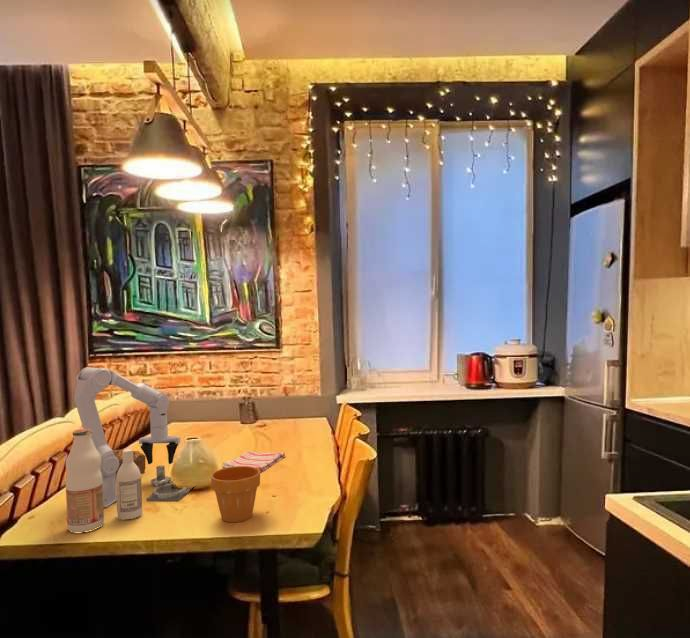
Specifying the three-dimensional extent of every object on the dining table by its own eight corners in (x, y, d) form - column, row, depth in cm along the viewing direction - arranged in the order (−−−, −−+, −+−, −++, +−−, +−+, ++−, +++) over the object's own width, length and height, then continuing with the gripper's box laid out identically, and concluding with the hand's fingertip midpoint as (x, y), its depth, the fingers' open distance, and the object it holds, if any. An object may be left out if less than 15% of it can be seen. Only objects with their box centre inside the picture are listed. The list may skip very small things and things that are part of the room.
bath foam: (146, 515, 156) (144, 449, 156) (123, 523, 151) (121, 454, 150) (136, 510, 161) (133, 446, 160) (113, 517, 155) (111, 450, 155)
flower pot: (240, 504, 163) (239, 463, 163) (271, 514, 154) (269, 470, 154) (202, 519, 152) (201, 475, 152) (233, 530, 143) (231, 484, 143)
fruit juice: (74, 537, 142) (70, 435, 141) (62, 528, 148) (58, 431, 148) (109, 526, 149) (105, 429, 148) (96, 518, 155) (92, 425, 155)
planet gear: (166, 486, 182) (165, 469, 182) (147, 486, 183) (146, 469, 183) (174, 480, 189) (173, 463, 189) (156, 480, 190) (155, 463, 190)
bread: (85, 481, 191) (84, 454, 191) (100, 472, 202) (99, 447, 202) (134, 481, 190) (133, 454, 190) (147, 472, 201) (146, 446, 200)
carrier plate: (179, 501, 167) (178, 489, 167) (146, 501, 168) (145, 489, 168) (196, 485, 182) (196, 474, 182) (166, 485, 183) (165, 474, 183)
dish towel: (220, 472, 199) (220, 463, 199) (250, 455, 221) (249, 447, 221) (259, 475, 194) (259, 465, 193) (286, 457, 216) (286, 449, 216)
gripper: (183, 422, 189) (184, 459, 189) (144, 423, 190) (146, 460, 190) (175, 427, 182) (176, 465, 182) (135, 427, 183) (137, 466, 183)
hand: (160, 463), depth 186 cm, fingers open, 7 cm apart
